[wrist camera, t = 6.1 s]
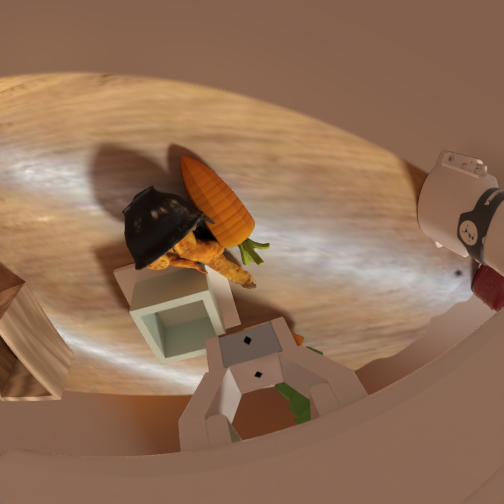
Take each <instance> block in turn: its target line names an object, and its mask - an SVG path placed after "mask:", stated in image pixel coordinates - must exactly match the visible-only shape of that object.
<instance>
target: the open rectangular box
mask: <svg viewBox="0 0 504 504" xmlns="http://www.w3.org/2000/svg"><path fill="white" fill-rule="evenodd" d="M197 265H198V266H199V267H201V268H203V269H204V270H206V271H207V272H208V274H206V273H203V272H200V271H198V270H197V269H196V268H186V267H174V266H171V265H168V266H167V267H166V268H164V269H160V270H155V269H150V268H147V267H146V268H144V269H142V270H136V269H135V263H133V264H130V265H127V266H123V267H120V268H117V269H115V270H114V272H113V274H114V276H115V278H116V280H117V282H118V284H119V286H120V288H121V290H122V292H123V294H124V296H125V297H126V299H127V301H128V303H129V305H130V309H129V313H130V314H131V316H132V318H133V320H134V321H135V323H136V325H137V327H138V328H139V330H140V332H141V333H142V335H143V337H144V338H145V340H146V341H147V343H148V345H149V346H150V348H151V349H152V351H153V353H154V354H155V356H156V357H157V359H158V360H159V362H160V363H161V365H162V364H166V363H171V362H175V361H179V360H184V359H188V358H192V357H196V356H200V355H204V354H207V353H206V345H205V339H206V338H211V337H215V336H219V335H222V334H226V329H227V328H231V327H234V326H238V325H241V322H240V319H239V316H238V312H237V309H236V306H235V302H234V299H233V296H232V292H231V289H230V286H229V282H228V279H227V278H226V277H225V276H223V275H221V274H220V273H219V272H217V271H215V270H213V269H212V268H210V267H209V266H207V265H205V264H197Z"/></svg>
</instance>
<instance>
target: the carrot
mask: <svg viewBox="0 0 504 504" xmlns="http://www.w3.org/2000/svg"><path fill="white" fill-rule="evenodd" d="M180 164H181V171H182V177H183V181H184V185H185V188H186V191H187V193H188V195H189V198H190V200H191V202H192V204H193V206H194V208H195V209H197V210H201V211H203V212H204V217H206V218H208V219H210V220H212V221H214V222H215V224H212V223H210V222H207V221H204V224H205V226H206V227H207V229H208V231H209V232H210V234H211V235H212V236H213V237H214V238H215V239H216V240H217V241H218V243H219V244H220V245H221V246H223V247H224V248H232V247H234V246H236V245H238V247H239V249H240V252H241V257H242V261H243V264H244V265H249V264H250V262H249V260H250V261H252V262H256V264H257V265H261V264H263V263H264V262H263V260H262V259H261V258H260V257H259V255H258V254H257V253H256V252H255V251H254V249H255V248H258V249H268V248H269V246H270V244H269V243H266V244H261V243H257V242H254V241H252V240H250V239H249V238H248V237H249V236H250V234H251V233H252V231H253V229H254V226H255V222H254V220H253V218H252V216H251V215H250V213H249V212H248V211H247V209H246V208H245V206H244V205H243V204H242V202H241V201H240V200H239V198H238V197H237V196H236V194H235V193H234V192H233V191H232V189H231V188H230V187H229V186H228V185H227V184H226V183H225V182H224V181H223V180H222V179H221V178H220V177H219V176H218V175H217V174H216V173H215V172H213V171H212V170H211V169H210V168H208V167H207V166H205V165H204V164H202V163H201V162H199V161H197V160H195V159H193V158H191V157H189V156H182V157H181V163H180Z"/></svg>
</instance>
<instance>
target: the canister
mask: <svg viewBox="0 0 504 504" xmlns="http://www.w3.org/2000/svg"><path fill="white" fill-rule="evenodd" d="M472 292H473V293H474V294H475V296H476V297H477V298H479V299H481V300H482V301H483V302H484V303H485V304H486V305H488V306H489V307H490V309H492V310H495V311H496V312H498V311H499V310H500V309H501V308H503V307H504V276H502V275H501V274H500V273H498V272H497V271H496V270H494V269H493V268H491V267H490V266H489V265H488V266H485V265H483V264H482V265H481V266H480V268H479V270H478V272H477V274H476V276H475V278H474V281H473V285H472Z"/></svg>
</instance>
